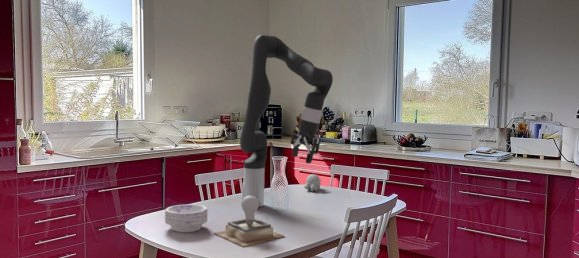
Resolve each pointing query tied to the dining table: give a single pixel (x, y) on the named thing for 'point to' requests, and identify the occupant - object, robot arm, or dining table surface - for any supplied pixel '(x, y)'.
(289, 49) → the robot arm
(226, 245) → the dining table surface
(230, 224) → the square tan tray
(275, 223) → the dining table surface
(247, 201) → the lightbulb
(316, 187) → the round bodied animal figurine
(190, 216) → the paper bowls
